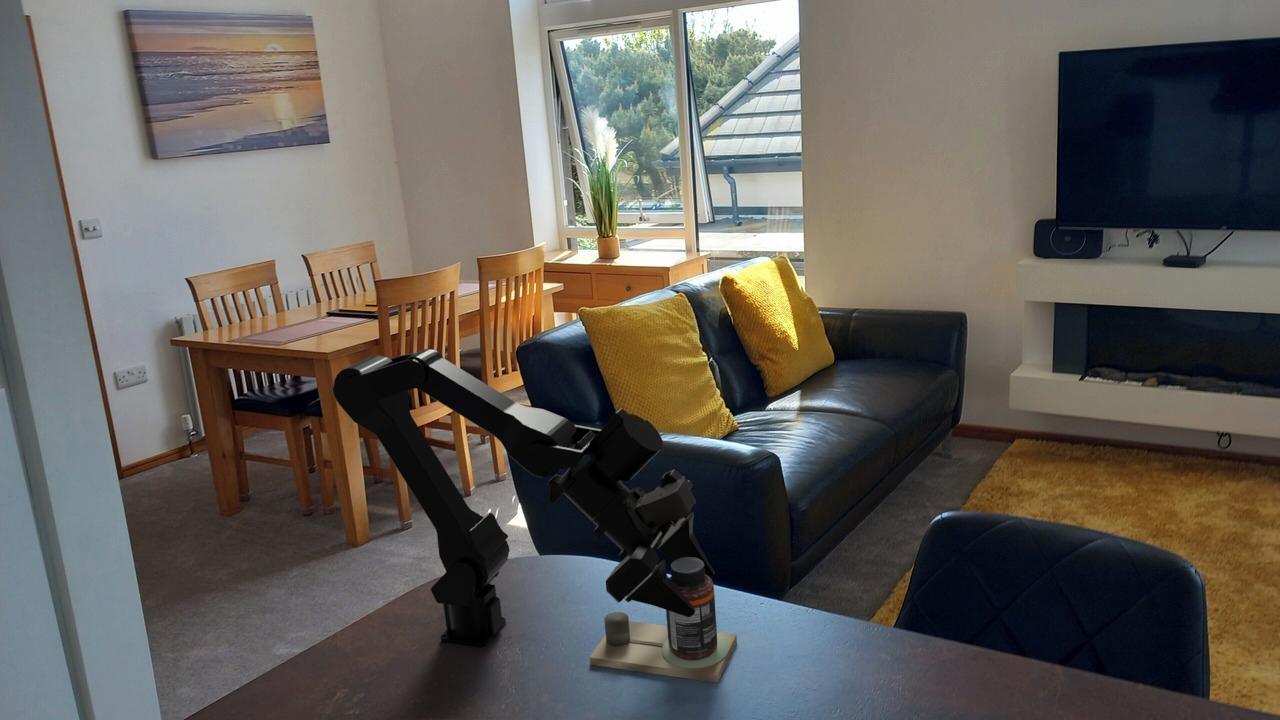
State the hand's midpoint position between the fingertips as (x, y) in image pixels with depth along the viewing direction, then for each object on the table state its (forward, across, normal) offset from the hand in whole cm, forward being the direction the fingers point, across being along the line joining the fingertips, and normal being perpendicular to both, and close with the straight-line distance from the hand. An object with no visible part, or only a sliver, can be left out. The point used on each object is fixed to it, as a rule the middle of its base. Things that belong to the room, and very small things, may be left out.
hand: (702, 594), depth 116 cm
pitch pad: (+5, 0, +7) cm, 9 cm away
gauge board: (+2, 0, +10) cm, 10 cm away
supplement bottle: (+4, 0, +6) cm, 8 cm away
